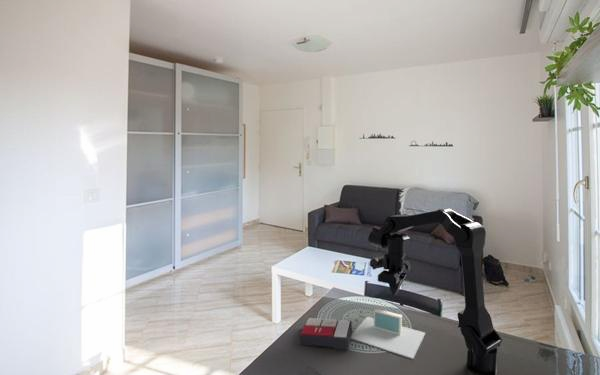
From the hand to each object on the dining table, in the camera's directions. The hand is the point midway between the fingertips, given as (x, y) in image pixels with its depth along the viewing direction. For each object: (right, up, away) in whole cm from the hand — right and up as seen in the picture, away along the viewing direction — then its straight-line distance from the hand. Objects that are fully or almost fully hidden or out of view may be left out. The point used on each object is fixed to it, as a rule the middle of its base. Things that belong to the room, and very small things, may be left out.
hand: (394, 294), depth 112 cm
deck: (-4, -10, -5) cm, 12 cm away
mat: (-5, -11, -8) cm, 14 cm away
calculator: (-25, -11, -9) cm, 28 cm away
